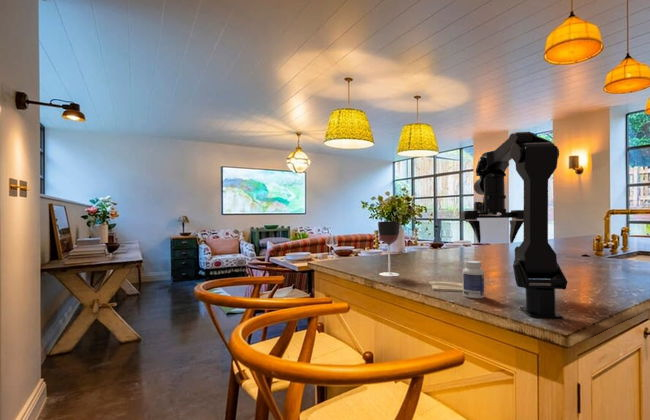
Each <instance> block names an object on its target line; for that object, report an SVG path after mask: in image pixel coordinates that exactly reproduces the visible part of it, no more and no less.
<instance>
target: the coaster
mask: <svg viewBox="0 0 650 420" xmlns="http://www.w3.org/2000/svg"><path fill="white" fill-rule="evenodd" d="M428 282H429V285H430V287H431V288H432V291H435V292H436V291H437V292H439V291H440V292H461V293H463V282H460V281H459V282H451V281H428Z"/></svg>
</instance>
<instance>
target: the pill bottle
mask: <svg viewBox="0 0 650 420" xmlns="http://www.w3.org/2000/svg"><path fill="white" fill-rule="evenodd" d="M464 262H465V264H464V266H465V268H463V270H462V284H463V292H462V294H463V296H464V297H465V298H470V299H483V298H484V297H485V278H484V277H485V271H484V270H483V269H481V268H482V262H481V261H479V260H465V261H464Z"/></svg>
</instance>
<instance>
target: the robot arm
mask: <svg viewBox="0 0 650 420" xmlns="http://www.w3.org/2000/svg"><path fill="white" fill-rule="evenodd" d="M559 157H560V149H559V148H558V146H556V145H555V143H553V142H552V141H551V140H549V139H547V138H543V137H541V136H538V135H536V133H534V132H531V131H516V132H512V133H510V134H509V137H508V138H507V139H506V140H505V141H504V142H502V143H501V144H500V145H499V146H498V147H497V148H496V149H494V150H490V151H486V152H484V153H482V155H481V156H480V157H479V159H478V161H477V165H476V168H475V174H476V175H475V176H476V177H479V178H478V179H477V180H476V181H475V182H474V185H473V190H474V192H475V193H476V194H477V195H480V196H483V197H482V199H483V200H482V202H481V201H474V203H473V210H463V211H461V213H460V220H465V223H468V224H469V225H470V227H471V228H472V230H473V233H474V235H475V238H476V240H477V243H479V244H480V243H481V237H482V236H481V223H480V220H478V219H501V218H502V219H508V218H510V220H509V225H510V227H509V243H510V244H513V243H514V241H515V239H516V237H517V234H518V233H519V230H520V229H521V227H522V225H523V238H522V239H523V240H522V242H521V243H520V245H519V246H515V248H514V260H513V265H512V268H513V273H514V274H513V275H514V279H515V283H516V287H518V288H523V289H525V306H520V307H519V309H520V310H521V311H523V312H524V313H525V314H527V315H529V317H532V318H548V319H550V318H551V319H564V316H563V314H560V313H559V312H557V311H556V290H567V284H568V280H567V279H566V276H565V274H564V273H563V270H562V268H561V267H560V265H559V263H558V258H557V257H558V256H557V253H556V252H555V250H554V249H553V248H552V246H551V244H550V243H549V180H550V178H551V177H552V175H553V173H555V171H556V169H557V168H558V160H559ZM511 160H513V162H514V163H515V171H516V173H517V174H518V175H519V177H520V178H521V179H522V181H523V209H516V210H515V209H512V210H510V212H509V211H507V208H506V198H507V195H506V194H505V193H506V192H505V190H506V189H505V185H506V184H505V177H506V176H507V174H506V170H507V169H508V168H509V166H510V161H511Z"/></svg>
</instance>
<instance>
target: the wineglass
mask: <svg viewBox="0 0 650 420" xmlns="http://www.w3.org/2000/svg"><path fill="white" fill-rule="evenodd" d="M377 224H378V225H377V227H378V235H379V239H380V240H381V241H382V242H383V244H384V243H385V244H386V245H387V256H388V257H387V265H388V266H387V272H381V273H379V275H380V276H383V277H396V276H400V274H399V273H397V272H391V245H392V244H394V243H395V242H396V241H397V240H398V238H399V234H400V221H378V222H377Z"/></svg>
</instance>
